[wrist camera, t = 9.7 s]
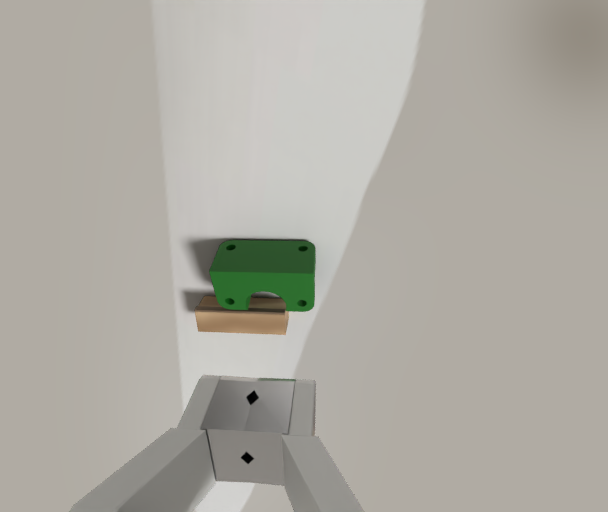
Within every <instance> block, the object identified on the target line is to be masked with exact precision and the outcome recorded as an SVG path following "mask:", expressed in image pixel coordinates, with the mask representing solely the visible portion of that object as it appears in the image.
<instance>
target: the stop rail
mask: <svg viewBox="0 0 608 512" xmlns="http://www.w3.org/2000/svg"><path fill="white" fill-rule="evenodd" d="M195 315H196V321H197V327H198V331H200V332H226V333H252V334H278V335H286V330H287V325H288V319H289V311H286V303H285V301H284V300H283V299H282V298H251V299H250V303H249V307H248V310H231V309H226V308H223V307H222V306H220V305H219V303H218V301H217V298H216V296H204V297H203V299H202V301H201V302H200V304H199V306H197V307H196V308H195Z"/></svg>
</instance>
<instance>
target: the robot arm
mask: <svg viewBox="0 0 608 512" xmlns="http://www.w3.org/2000/svg"><path fill="white" fill-rule="evenodd" d="M315 406H316V382H315V380H299V379H273V378H247V377H233V376H214V375H203V376H202V377H201V378H200V379H199V381H198V383H197V385H196V388H195V390H194V392H193V394H192V396H191V398H190V401H189V403H188V405H187V407H186V409H185V411H184V414H183V416H182V418H181V420H180V422H179V425H178V427H177V428H170V429H169V430H168V431H167V432H165V433H164V434H163V435H161V436H160V437H159V438H158V439H156V440H155V441H154V442H153V443H151V444H150V445H149V446H148V447H147V448H145V449H144V450H143V451H141V452H140V453H139V454H137V455H136V456H135V457H134V458H132V459H131V460H130V461H129V462H127V463H126V464H125V465H124V466H122V467H121V468H120V469H119V470H117V471H116V472H115V473H113V474H112V475H111V476H110V477H108V478H107V479H106V480H105V481H103V482H102V483H101V484H100V485H98V486H97V487H96V488H95V489H93V490H92V491H91V492H90V493H88V494H87V495H86V496H84V497H83V498H82V499H81V500H79V501H78V502H77V503H76V504H74V505H73V507H72V508H71V510H70V511H69V512H193V510H194V509H195V508H196V507H197V506H198V505H199V503H200V502H201V501H202V500H203V498H204V497H205V496H206V495H207V494H208V492H209V491H210V490H211V489H212V488H213V486H214V485H215V484H216V481H228V482H252V483H262V484H272V485H282V486H285V489H286V492H287V495H288V497H289V500H290V502H291V505H292V507H293V510H294V512H364V510H363V509H362V507H361V506H360V504H359V502H358V500H357V499H356V497H355V496H354V494H353V492H352V491H351V489H350V487H349V486H348V484H347V482H346V481H345V479H344V477H343V476H342V474H341V473H340V471H339V469H338V468H337V466H336V464H335V463H334V461H333V460H332V458H331V456H330V455H329V453H328V451H327V450H326V448H325V447H324V445H323V443H322V442H321V440H320V438H319V437H317V436H315Z"/></svg>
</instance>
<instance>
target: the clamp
mask: <svg viewBox="0 0 608 512" xmlns="http://www.w3.org/2000/svg"><path fill="white" fill-rule="evenodd" d="M315 263H316V262H315V246H314V244H312V243H311V242H308V241H263V240H229V241H226V242H224V243H222V244H221V245H220V246H219V249H218V251H217V253H216V256H215V258H214V261H213V263H212V266H211V268H210V271H209V273H210V276H211V280H212V283H213V287H214V291H215V294H216V298H217V301H218V303H219V305H220V306H222V307H223V308H226V309H231V310H248V307H249V303H250V299H251V295H252V294H253V293H255V292H261V291H265V292H271V293H274V294H276V295H278V296H280V297H281V298H282V299H283V300H284V301H285V303H286V311H299V312H305V311H309V310H311V309H312V308H313V307H314V300H315Z"/></svg>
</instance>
